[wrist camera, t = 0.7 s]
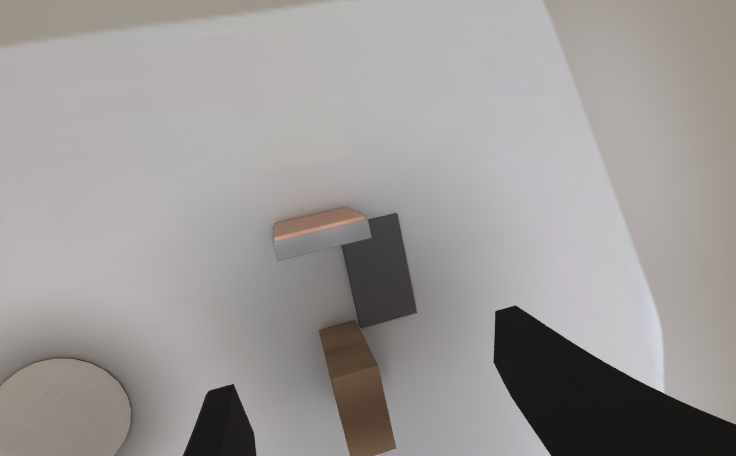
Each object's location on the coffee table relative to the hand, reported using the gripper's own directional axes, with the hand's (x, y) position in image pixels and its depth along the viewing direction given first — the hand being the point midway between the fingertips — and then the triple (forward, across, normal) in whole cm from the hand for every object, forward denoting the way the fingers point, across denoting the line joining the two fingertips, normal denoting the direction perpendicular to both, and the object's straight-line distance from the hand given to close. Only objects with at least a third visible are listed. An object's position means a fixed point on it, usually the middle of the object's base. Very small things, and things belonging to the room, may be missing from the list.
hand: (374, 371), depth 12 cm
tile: (+17, 0, +5) cm, 18 cm away
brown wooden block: (+14, 0, +14) cm, 19 cm away
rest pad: (+16, -3, +8) cm, 18 cm away
